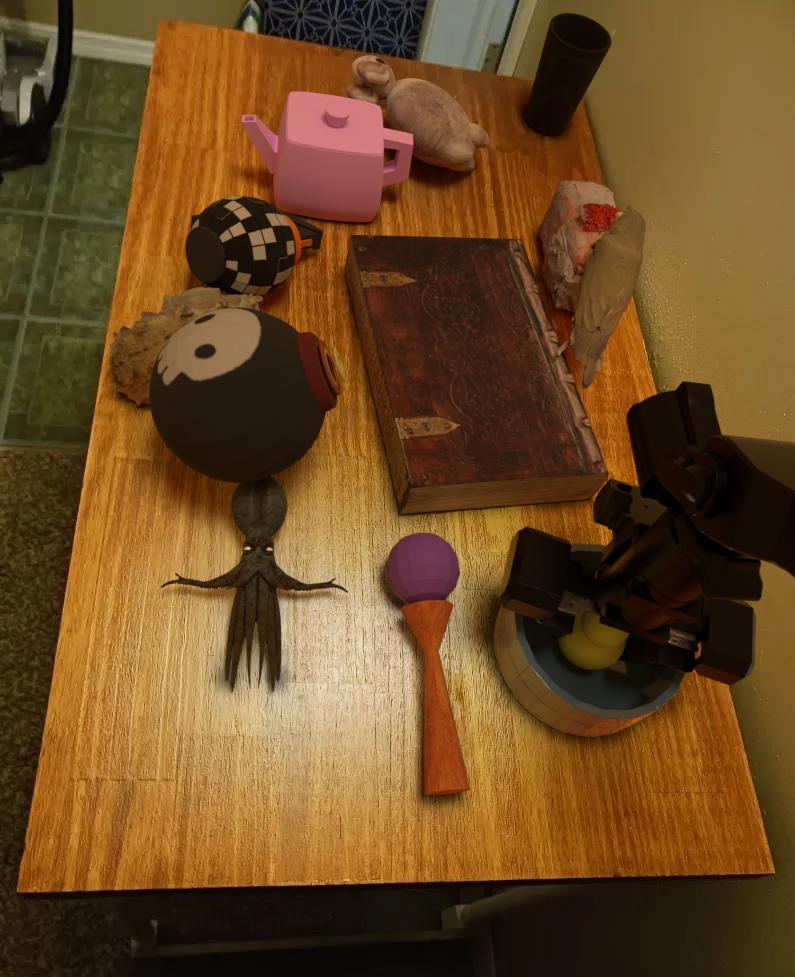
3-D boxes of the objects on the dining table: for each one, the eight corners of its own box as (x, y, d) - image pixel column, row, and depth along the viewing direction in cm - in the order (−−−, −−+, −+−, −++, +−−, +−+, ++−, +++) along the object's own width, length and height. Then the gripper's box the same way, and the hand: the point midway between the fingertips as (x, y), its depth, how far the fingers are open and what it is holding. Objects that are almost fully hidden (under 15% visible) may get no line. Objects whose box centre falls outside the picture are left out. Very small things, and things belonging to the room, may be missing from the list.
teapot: (236, 211, 86) (239, 126, 77) (242, 146, 91) (246, 60, 83) (403, 233, 89) (424, 154, 81) (399, 169, 95) (418, 89, 86)
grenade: (159, 176, 73) (277, 167, 84) (151, 274, 79) (264, 254, 90) (245, 225, 69) (359, 209, 80) (231, 326, 74) (339, 298, 85)
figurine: (148, 687, 56) (168, 452, 63) (153, 701, 61) (172, 481, 68) (355, 688, 59) (352, 462, 66) (343, 700, 64) (342, 490, 71)
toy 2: (375, 101, 102) (301, 80, 90) (407, 45, 98) (334, 14, 86) (530, 242, 96) (473, 240, 83) (571, 188, 92) (517, 177, 80)
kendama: (407, 792, 56) (382, 524, 64) (405, 799, 61) (382, 551, 70) (493, 784, 56) (457, 518, 65) (483, 791, 62) (451, 545, 70)
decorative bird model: (642, 220, 83) (670, 198, 78) (587, 398, 79) (613, 387, 74) (599, 198, 82) (625, 175, 77) (541, 378, 78) (565, 365, 73)
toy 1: (120, 303, 63) (302, 242, 62) (198, 419, 73) (356, 369, 72) (107, 425, 54) (319, 357, 53) (198, 537, 65) (377, 483, 63)
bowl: (648, 761, 65) (682, 744, 60) (477, 703, 64) (498, 682, 60) (663, 602, 72) (694, 577, 68) (511, 549, 72) (532, 520, 67)
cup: (514, 131, 103) (547, 40, 93) (519, 96, 107) (551, 5, 97) (572, 148, 104) (611, 59, 94) (574, 113, 108) (612, 24, 98)
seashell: (287, 361, 78) (295, 277, 71) (180, 447, 70) (176, 362, 62) (199, 306, 81) (198, 219, 73) (86, 382, 72) (70, 293, 65)
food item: (613, 328, 89) (655, 261, 80) (544, 322, 87) (580, 254, 79) (588, 238, 95) (624, 168, 87) (523, 231, 94) (554, 159, 85)
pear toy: (605, 687, 67) (654, 652, 59) (542, 666, 66) (584, 628, 59) (613, 628, 69) (661, 587, 62) (553, 608, 69) (594, 564, 62)
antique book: (591, 498, 76) (614, 471, 72) (399, 515, 71) (411, 487, 67) (510, 270, 90) (524, 236, 86) (343, 271, 85) (350, 234, 81)
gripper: (806, 509, 58) (696, 594, 72) (562, 423, 58) (496, 525, 71) (807, 650, 52) (687, 715, 66) (535, 556, 52) (468, 640, 65)
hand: (583, 643), depth 67 cm, fingers closed on pear toy, 5 cm apart
